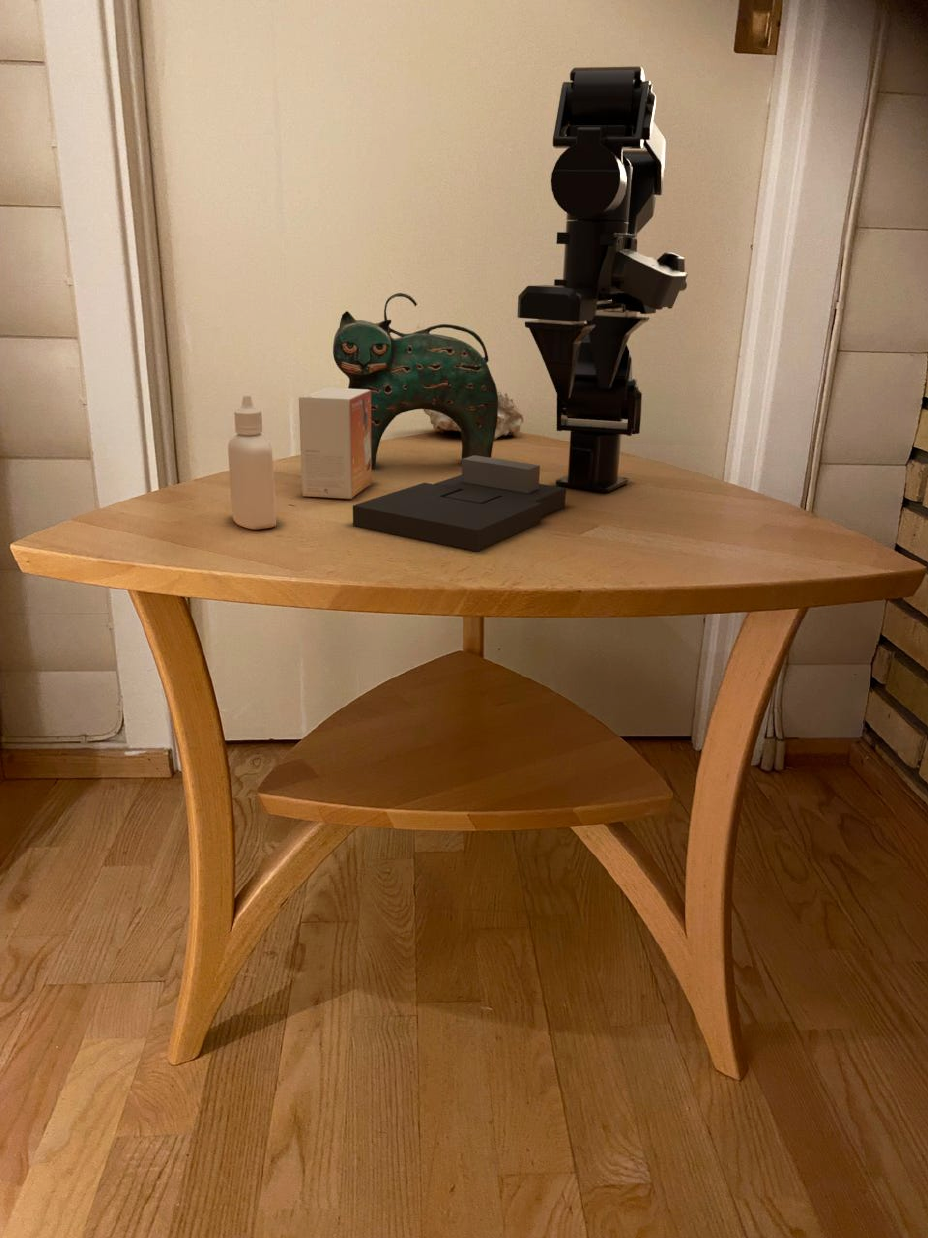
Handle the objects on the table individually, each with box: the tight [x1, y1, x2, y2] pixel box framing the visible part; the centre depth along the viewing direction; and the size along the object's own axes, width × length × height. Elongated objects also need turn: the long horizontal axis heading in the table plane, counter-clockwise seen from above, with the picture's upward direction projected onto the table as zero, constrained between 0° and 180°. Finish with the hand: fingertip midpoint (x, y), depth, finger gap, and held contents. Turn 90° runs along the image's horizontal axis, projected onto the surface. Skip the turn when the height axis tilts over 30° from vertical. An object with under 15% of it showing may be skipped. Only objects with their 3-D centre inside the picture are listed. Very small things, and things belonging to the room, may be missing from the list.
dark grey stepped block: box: [434, 455, 567, 518], centre depth 98 cm, size 11×12×4 cm
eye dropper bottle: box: [227, 394, 277, 531], centre depth 90 cm, size 4×6×12 cm
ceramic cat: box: [332, 292, 498, 470], centre depth 114 cm, size 20×6×20 cm, turn 104°
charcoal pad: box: [352, 482, 542, 553], centre depth 93 cm, size 12×14×2 cm
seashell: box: [422, 390, 524, 441], centre depth 136 cm, size 14×9×10 cm
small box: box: [298, 386, 373, 500], centre depth 103 cm, size 8×6×10 cm
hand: (585, 393), depth 94 cm, fingers open, 9 cm apart
